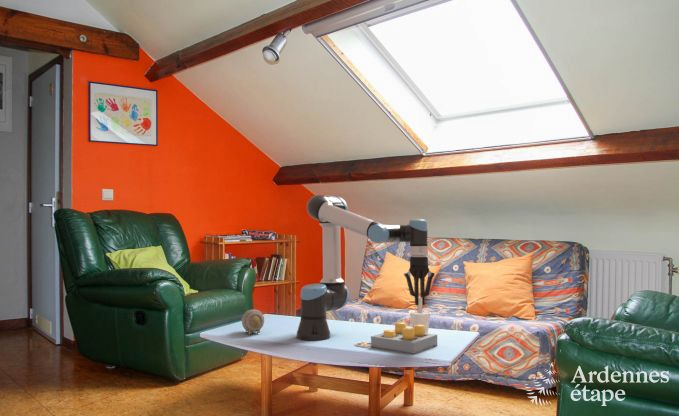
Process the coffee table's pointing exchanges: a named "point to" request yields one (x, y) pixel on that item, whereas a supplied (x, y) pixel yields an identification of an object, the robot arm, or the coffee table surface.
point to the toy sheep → (253, 321)
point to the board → (404, 343)
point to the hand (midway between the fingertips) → (419, 312)
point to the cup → (420, 319)
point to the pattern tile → (363, 344)
